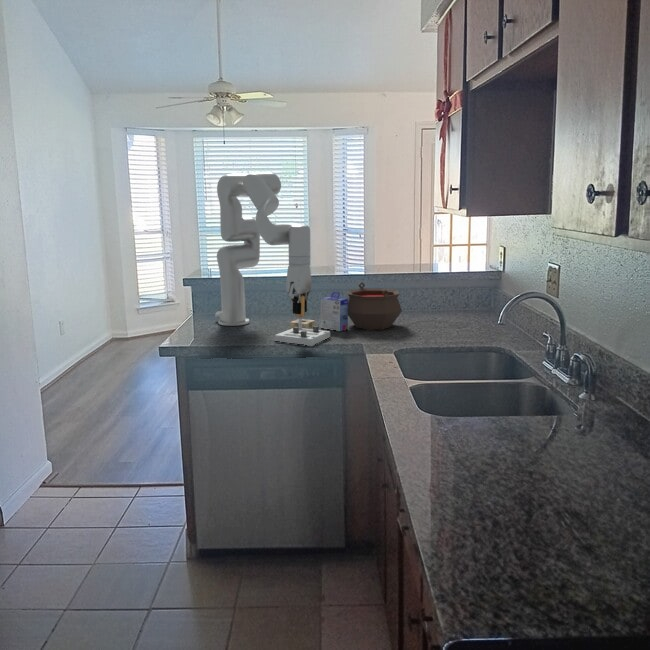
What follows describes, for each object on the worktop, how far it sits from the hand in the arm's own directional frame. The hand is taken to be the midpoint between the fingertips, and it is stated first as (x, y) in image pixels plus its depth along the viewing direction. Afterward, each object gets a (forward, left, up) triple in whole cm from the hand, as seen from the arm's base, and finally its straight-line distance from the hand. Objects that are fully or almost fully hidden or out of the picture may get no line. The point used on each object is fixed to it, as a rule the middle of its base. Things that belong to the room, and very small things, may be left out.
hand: (299, 312), depth 231 cm
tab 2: (+2, 0, -10) cm, 10 cm away
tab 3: (+2, +9, -10) cm, 13 cm away
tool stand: (-8, +16, -11) cm, 21 cm away
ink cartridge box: (+1, +25, -11) cm, 28 cm away
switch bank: (-1, +4, -11) cm, 12 cm away
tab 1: (-4, +4, -10) cm, 11 cm away
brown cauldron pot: (+12, +37, -11) cm, 41 cm away
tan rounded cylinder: (0, 0, -6) cm, 6 cm away
